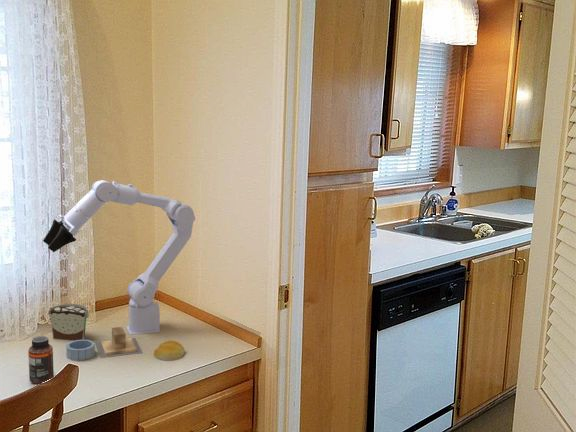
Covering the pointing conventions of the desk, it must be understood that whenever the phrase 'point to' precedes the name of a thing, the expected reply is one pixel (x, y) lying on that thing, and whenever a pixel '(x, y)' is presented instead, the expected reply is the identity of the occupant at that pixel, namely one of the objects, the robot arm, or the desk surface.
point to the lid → (118, 343)
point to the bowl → (80, 350)
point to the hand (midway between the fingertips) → (48, 246)
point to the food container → (68, 321)
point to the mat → (102, 354)
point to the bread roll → (169, 351)
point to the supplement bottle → (40, 360)
